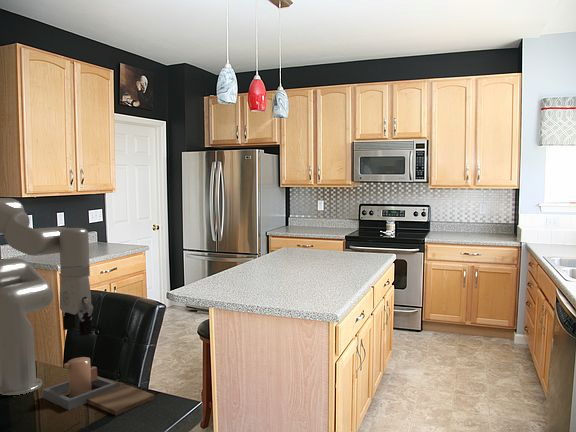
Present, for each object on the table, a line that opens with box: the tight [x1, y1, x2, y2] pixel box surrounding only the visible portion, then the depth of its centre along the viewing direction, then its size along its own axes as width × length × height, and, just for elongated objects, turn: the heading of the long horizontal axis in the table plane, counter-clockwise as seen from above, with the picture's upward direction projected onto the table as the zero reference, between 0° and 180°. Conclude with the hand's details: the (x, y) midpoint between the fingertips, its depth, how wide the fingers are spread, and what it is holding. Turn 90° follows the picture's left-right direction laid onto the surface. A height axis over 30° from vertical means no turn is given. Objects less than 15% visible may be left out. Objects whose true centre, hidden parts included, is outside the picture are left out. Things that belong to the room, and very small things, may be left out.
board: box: [86, 383, 156, 416], centre depth 130 cm, size 14×12×1 cm
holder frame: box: [42, 375, 118, 411], centre depth 135 cm, size 14×14×2 cm
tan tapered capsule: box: [63, 356, 98, 398], centre depth 136 cm, size 6×9×10 cm, turn 143°
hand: (77, 331), depth 134 cm, fingers open, 9 cm apart
